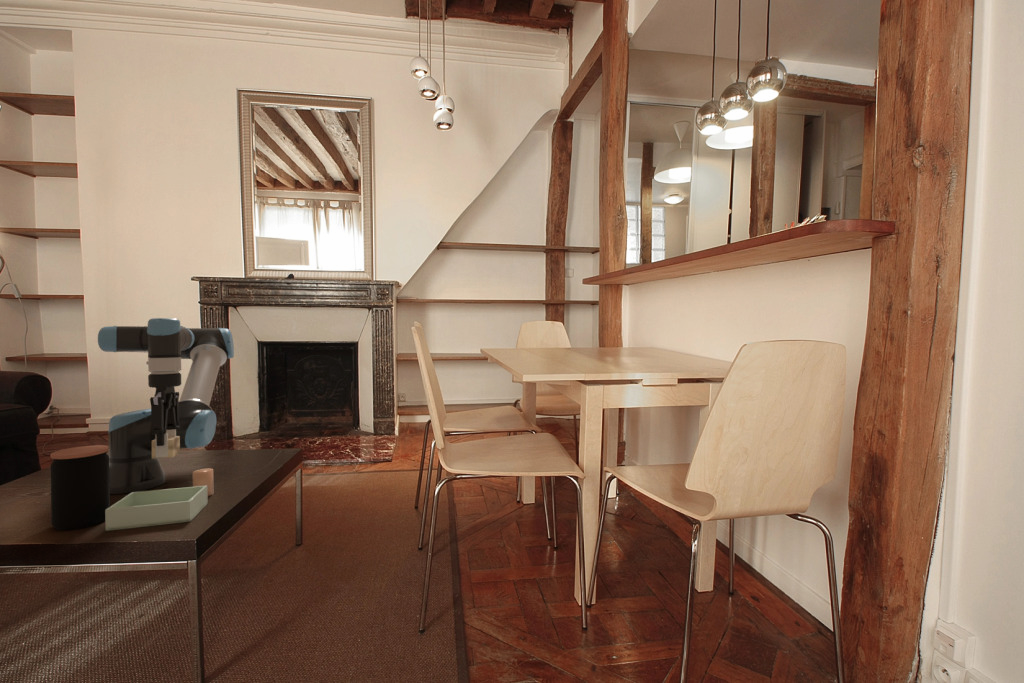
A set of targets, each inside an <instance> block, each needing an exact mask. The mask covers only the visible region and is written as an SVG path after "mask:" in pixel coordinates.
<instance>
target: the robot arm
mask: <svg viewBox="0 0 1024 683" xmlns="http://www.w3.org/2000/svg"><path fill="white" fill-rule="evenodd" d="M97 345H98V347H99V348H100V350H101V351H103V352H105V353H106V352H107V353H125V352H126V353H147V358H148V359H147V361H146V362H145V364H146V366H147V365H148V369H147V370H148V373H149V374H148V376H147V380H148V381H147V382H148V387H149V388H155V393H154V396H153V397H152V396H150V398H149V402H150V408H145V409H139V410H132V411H128V412H122V413H119V414H116V415H113V416H112V417H111V418H110V419H109V421H108V430H107V433H108V446H109V451H108V455H109V480H110V495H121V494H130V493H132V492H141V491H148V490H149V489H151V490H152V489H154V488H157V487H159V486H161V485H164V483H166V474H165V471H164V469H163V467H162V465H161V462H160V459H159V458H158V457H168V437H173V436H180V450H186V449H190V450H192V449H198V448H203V447H206V446H209V444H210V443H211V442H212V440H213V439H214V436H215V434H216V427H217V415H216V412H215V411H214V410H213V409H212V407H211V406H210V404H211V401H212V397H213V393H214V390H215V385H216V381H217V378H218V374H219V371H220V367H222V366H224V365H225V363H226V362H227V359H229V360H230V359H232V358H234V356H235V355H234V354H235V351H234V350H235V347H234V340H233V334H232V331H231V329H229V328H222V327H217V328H213V327H211V328H208V327H207V328H206V327H203V328H199V327H198V328H196V327H195V328H193V327H192V328H189V327H185V326H182V325H181V321H180V319H179V318H172V317H171V318H168V317H167V318H164V317H163V318H162V317H160V318H159V317H154V318H150V319H149V320H148V321H147V325H145V326H139V325H138V326H133V325H132V326H131V325H130V326H123V325H122V326H121V325H120V326H119V325H113V326H104V327H101V328H100V330H98V334H97ZM182 360H191V361H192V363H191V366H190V368H189V372H188V375H187V377H186V381H185V383H184V387H183V389H182V392H181V394H180V391H176V390H175V387H179V386H180V387H181V385H182V373H181V371H182ZM154 439H156V458H155V459H152V440H154Z"/></svg>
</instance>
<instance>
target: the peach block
mask: <svg viewBox="0 0 1024 683" xmlns="http://www.w3.org/2000/svg"><path fill="white" fill-rule="evenodd" d="M196 486H207V492H208V497H210V496H212V495H214V492H215V491H214V469H213V468H212V467H211V468H207V467H206V468H201V469H197V470H194V471H192V487H196Z"/></svg>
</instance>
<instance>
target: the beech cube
mask: <svg viewBox="0 0 1024 683" xmlns="http://www.w3.org/2000/svg"><path fill="white" fill-rule="evenodd" d="M179 454H181V449H180V436H173V437H168V457H158V459H167V458H174V457H176V456H178V455H179ZM155 458H156V439H154V440H152V459H155Z"/></svg>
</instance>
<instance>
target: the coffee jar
mask: <svg viewBox="0 0 1024 683" xmlns="http://www.w3.org/2000/svg"><path fill="white" fill-rule="evenodd" d="M107 453H109V445H105V444H104V445H103V444H102V445H100V444H97V445H96V444H95V445H94V444H93V445H84V446H83V445H82V446H75V447H69V448H63V449H59V450H56V451H52V452H51V453H50V458H51V460H52V462H51V463H50V513H51V514H50V520H51V526H52V527H53V528H54V529H56V530H57V531H72V530H79V529H83V528H89V527H92V526H95V525H97V524H100V523H102V522H104V521H105V510H106V509H107V508H109V507H110V506H111V500H110V499H111V496H110V495H111V494H110V480H109V454H107Z"/></svg>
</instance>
